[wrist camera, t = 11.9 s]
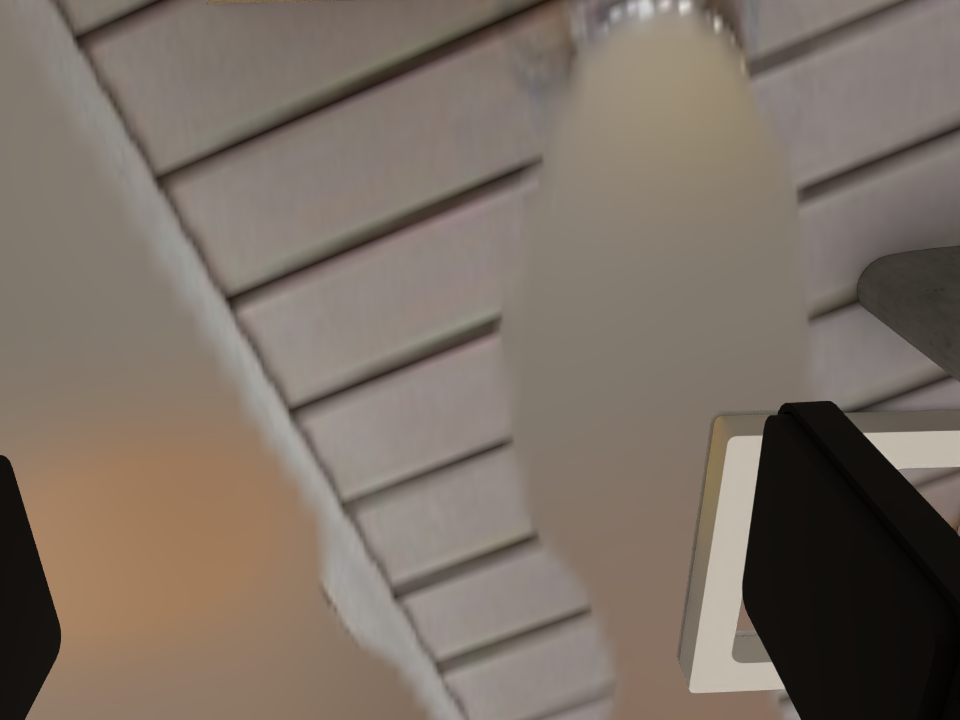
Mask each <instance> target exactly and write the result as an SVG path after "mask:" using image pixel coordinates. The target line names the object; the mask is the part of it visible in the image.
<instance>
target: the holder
mask: <svg viewBox="0 0 960 720" xmlns="http://www.w3.org/2000/svg"><path fill="white" fill-rule="evenodd" d="M778 411H779V410H747V411H718V412H716V413H714V414H713V415H712V417H711V423H710V430H709V437H708V444H707V452H706V458H705V465H704V472H703V479H702V486H701V492H700V499H699V506H698V513H697V520H696V527H695V533H694V541H693V547H692V554H691V561H690V568H689V575H688V582H687V588H686V596H685V602H684V609H683V616H682V623H681V630H680V637H679V644H678V651H677V658H678V661H679V663H680V666H681V669H682V671H683V674H684V677H685V679H686V682H687V685H688V687H689V690H690V691H691V692H692V693H705V692H706V693H708V692H729V691H750V690H751V691H752V690H774V689H785V687H784V685H783V683H782V681H781V679H780V677H779V675H778V673H777V671H776V669H775V667H774V665H773V663H772V661H771V659H770V657H769V655H768V653H767V651H766V649H765V647H764V645H763V643H762V641H761V639H760V637H759V635H758V634H757V632H756V630H745V631H736V626H737V621H738V615H739V610H740V604H741V599H742V580H743V573H744V566H745V559H746V552H747V544H748V537H749V530H750V523H751V516H752V509H753V502H754V494H755V487H756V480H757V473H758V466H759V459H760V452H761V444H762V437H763V430H764V425H765V421H766V419H767V417H768V416H770V415H778ZM844 414H845V415H846V416H847V417H848V418H849V419H850V420H851V421H852V422H853V423H854V425H855V426H856V427H857V428H858V429H859V430H860V431H861V432H862V433H863V434H864V435H865V436H866V437H867V438H868V439H869V440H870V441H871V443H872V444H873V445H874V446H875V447H876V448H877V449H878V450H879V451H880V452H881V453H882V454H883V455H884V456H885V457H886V458H887V459H888V461H889V462H890V463H891V464H892V465H893V466H894V467H895V468H896V469H897V470H898V469H902V468H931V467H960V410H942V411H900V412H857V413H844ZM957 534H958V535H959V536H960V525H959V528H958V532H957Z"/></svg>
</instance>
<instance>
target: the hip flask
mask: <svg viewBox="0 0 960 720" xmlns="http://www.w3.org/2000/svg"><path fill="white" fill-rule="evenodd" d="M857 296H858V299H859V302H860V303H861V305H862V306H863V307H864V308H865V309H866V310H868V311H869V312H870V313H871V314H873V315H874V316H875V317H877V318H878V319H879V320H881V321H882V322H883V323H884V324H886V325H887V326H888V327H890V328H891V329H892V330H893V331H895V332H896V333H897V334H899V335H900V336H901V337H902V338H904V339H905V340H906V341H908V342H909V343H910V344H911V345H913V346H914V347H915V348H917V349H918V350H919V351H920V352H922V353H923V354H924V355H926V356H927V357H928V358H929V359H931V360H932V361H933V362H935V363H936V364H937V365H939V366H940V367H941V368H942V369H944V370H945V371H946V372H948V373H949V374H950V375H951V376H953V377H954V378H955V379H957V380H958V381H959V382H960V246H956V247H944V248H933V249H926V250H919V251H911V252H905V253H899V254H893V255H888V256H885V257H882V258H880V259H878V260H876V261H874V262H873V263H871V264H870V265H869V266H868V267H867V268H866V270H865V271H864V272H863V273H862V275H861V277H860V279H859V282H858V287H857Z"/></svg>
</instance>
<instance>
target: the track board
mask: <svg viewBox="0 0 960 720" xmlns="http://www.w3.org/2000/svg"><path fill="white" fill-rule="evenodd" d="M299 1H339V0H206V4H221V3H260V2H299Z"/></svg>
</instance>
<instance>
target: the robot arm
mask: <svg viewBox="0 0 960 720" xmlns="http://www.w3.org/2000/svg"><path fill="white" fill-rule="evenodd" d="M742 595H743V601H744V605H745V609H746V611H747V614H748V616H749V618H750V620H751V622H752V624H753V625H754V628H755V630H756V632H757V634H758V635H759V637H760V639H761V641H762V643H763V645H764V647H765V649H766V651H767V653H768V655H769V657H770V659H771V661H772V663H773V665H774V667H775V669H776V671H777V673H778V675H779V677H780V679H781V681H782V683H783V685H784V687H785V689H786V691H787V693H788V695H789V697H790V699H791V701H792V703H793V705H794V707H795V708H796V710H797V712H798V714H799V716H800V718H801V720H960V536H959V535H958V534H957V533H956V531H955V530H954V529H953V528H952V527H951V526H950V525H949V524H948V523H947V522H946V521H945V520H944V519H943V518H942V517H941V516H940V515H939V513H938V512H937V511H936V510H935V509H934V508H933V507H932V506H931V505H930V504H929V503H928V502H927V501H926V500H925V499H924V498H923V497H922V495H921V494H920V493H919V492H918V491H917V490H916V489H915V488H914V487H913V486H912V485H911V484H910V483H909V482H908V481H907V480H906V479H905V477H904V476H903V475H902V474H901V473H900V472H899V471H898V470H897V469H896V468H895V467H894V466H893V465H892V464H891V463H890V462H889V461H888V459H887V458H886V457H885V456H884V455H883V454H882V453H881V452H880V451H879V450H878V449H877V448H876V447H875V446H874V445H873V444H872V443H871V441H870V440H869V439H868V438H867V437H866V436H865V435H864V434H863V433H862V432H861V431H860V430H859V429H858V428H857V427H856V426H855V425H854V423H853V422H852V421H851V420H850V419H849V418H848V417H847V416H846V415H845V414H844V413H843V412H842V411H841V410H840V409H839V408H838V407H837V405H836V404H834V403H833V402H831V401H816V402H797V403H785V404H783V405H782V406H781V408H780V409H779V411H778V415H770V416H768V417H767V419H766V421H765V425H764V430H763V437H762V444H761V452H760V459H759V466H758V473H757V480H756V487H755V494H754V502H753V509H752V516H751V523H750V530H749V537H748V544H747V552H746V559H745V566H744V573H743V580H742ZM60 643H61V629H60V624H59V620H58V617H57V614H56V610H55V607H54V604H53V600H52V597H51V594H50V591H49V587H48V584H47V581H46V577H45V574H44V571H43V567H42V564H41V561H40V558H39V554H38V551H37V547H36V544H35V541H34V538H33V534H32V531H31V528H30V524H29V521H28V518H27V515H26V511H25V508H24V504H23V501H22V498H21V495H20V491H19V488H18V484H17V481H16V478H15V474H14V471H13V468H12V466H11V463H10V461H9V460H8V459H7V457H5V456H3V455H0V720H25V718H26V716H27V714H28V712H29V710H30V708H31V706H32V704H33V702H34V701H35V699H36V697H37V695H38V693H39V691H40V689H41V687H42V685H43V683H44V681H45V679H46V677H47V675H48V674H49V672H50V670H51V668H52V666H53V664H54V662H55V660H56V658H57V655H58V653H59V649H60Z"/></svg>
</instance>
